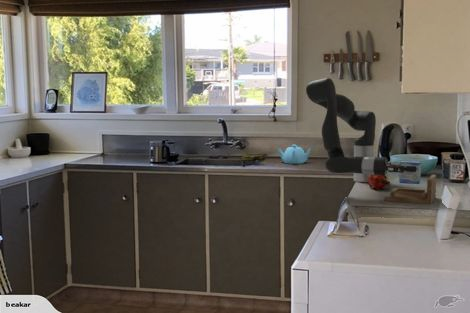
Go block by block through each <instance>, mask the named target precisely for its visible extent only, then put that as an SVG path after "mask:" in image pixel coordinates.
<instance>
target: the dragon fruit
mask: <svg viewBox="0 0 470 313" xmlns="http://www.w3.org/2000/svg"><path fill="white" fill-rule="evenodd" d="M366 183H368V186H369V188H374V189H376V190H378V191H380V190H381V189H384V188H387V186H389V185H390V183H391V180H390V181H389V179H388V177H387V175H385V176H381V175H369V177H368V180H367V182H366Z"/></svg>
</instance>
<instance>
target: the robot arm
mask: <svg viewBox="0 0 470 313" xmlns="http://www.w3.org/2000/svg"><path fill="white" fill-rule="evenodd" d="M305 92H306V96H307V97H308V99H309V100H310V101H311V102H312V103H314V104H316V105H318V106H321V107H323V108H324V109H326V114H325V118H324V120H323V123H322V126H321V137H322V143H323V147H324V150H325V151H326V152H327V155H328V156H327V157H328V158H327V159H326V160H325V162H324V164H325V168H326V170H327V171H328V172H329V173H332V174H333V173H334V174H347V173H348V174H349V173H351V174H353V182H357V183H368V182H367V180H368V177H369V175H381V176H387V173H392V174H393V173H399V174H400V172H401V173H403V172H416V166H407V167H406V166H405V165H401V164H400V162H401V161H400V162H399V161H391V162H388V158H387V157H386V156H385V157H384V156H374V155H375V152H374V151H375V138H376V125H377V124H376V122H377V120H376V118H377V117H376V115H375V113H374V112H373V111H361V110H355V109H356V108H355V103H354V102H353V101H352V100H351V99H350V98H348V97H347V96H346V95H343V94H339V93H337V92H336V86H335V83H334V80H332V79H331V77H330V78H329V77H326V78H321V79H317V80H313V81H310V82H309V83H308V84H307V85H306V88H305ZM338 118H340V119H341V120H343V121H344V122H345V123H347V124H348V126H350V127H351V129H353V130H355V131H359V132H360V131H361V132H364V133H363V135H362V136H360V137H357V138H355V139H354V141H353V156H350V157H349V156H348V157H347V156H346V157H345V154H344V153H345V152H344V150H343V148H342V145H341V139H340V134H339V127H338Z"/></svg>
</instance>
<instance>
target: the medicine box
mask: <svg viewBox="0 0 470 313" xmlns="http://www.w3.org/2000/svg"><path fill="white" fill-rule="evenodd" d="M400 164H401V165H405V166H406V167H407V166H416V172H403V173H401V172H399V180H398V183H399V184H405V185H406V184H407V185H409V184H410V185H420V183H421V175H422V174H421V173H422V172H421V170H422V169H421V168H422V162H421V161H414V160H413V161H411V160H410V161H406V160H401V161H400Z"/></svg>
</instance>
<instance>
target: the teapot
mask: <svg viewBox="0 0 470 313" xmlns="http://www.w3.org/2000/svg"><path fill="white" fill-rule="evenodd" d="M277 151H278V154H279V157H280V159H281V160H282V161H283V163H284V164H285V165H286V164H288V165H302V164H304V163H306V161H307V160H308V158H309V155H310V153H311V151H312V148H308V149H307V151H306V152H305V151H304V149H303V148H302V147H300V146H298V145H297V144H291V146H289V147H287V148H286V149H285V151H284V152H283V151H282V149H281V147H279V148H277Z"/></svg>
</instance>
